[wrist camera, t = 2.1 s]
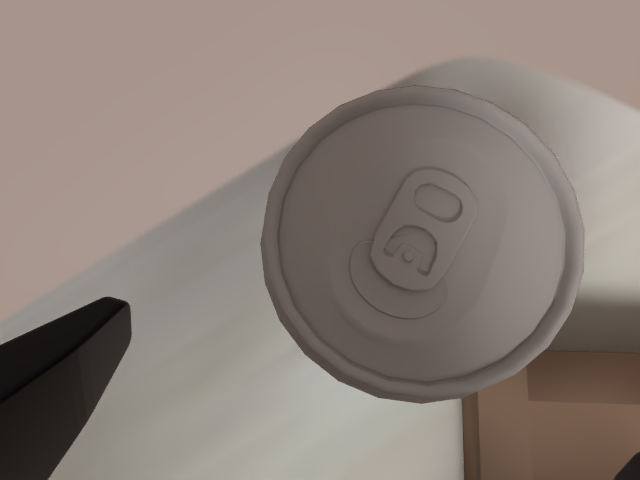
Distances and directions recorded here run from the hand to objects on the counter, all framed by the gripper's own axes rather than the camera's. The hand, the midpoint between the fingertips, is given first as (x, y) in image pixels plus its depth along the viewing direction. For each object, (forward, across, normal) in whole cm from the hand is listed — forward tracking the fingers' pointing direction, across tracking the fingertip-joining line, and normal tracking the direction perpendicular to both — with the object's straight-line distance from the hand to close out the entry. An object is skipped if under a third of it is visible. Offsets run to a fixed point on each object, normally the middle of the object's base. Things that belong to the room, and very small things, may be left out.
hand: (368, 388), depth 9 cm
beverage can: (+9, 0, +6) cm, 10 cm away
